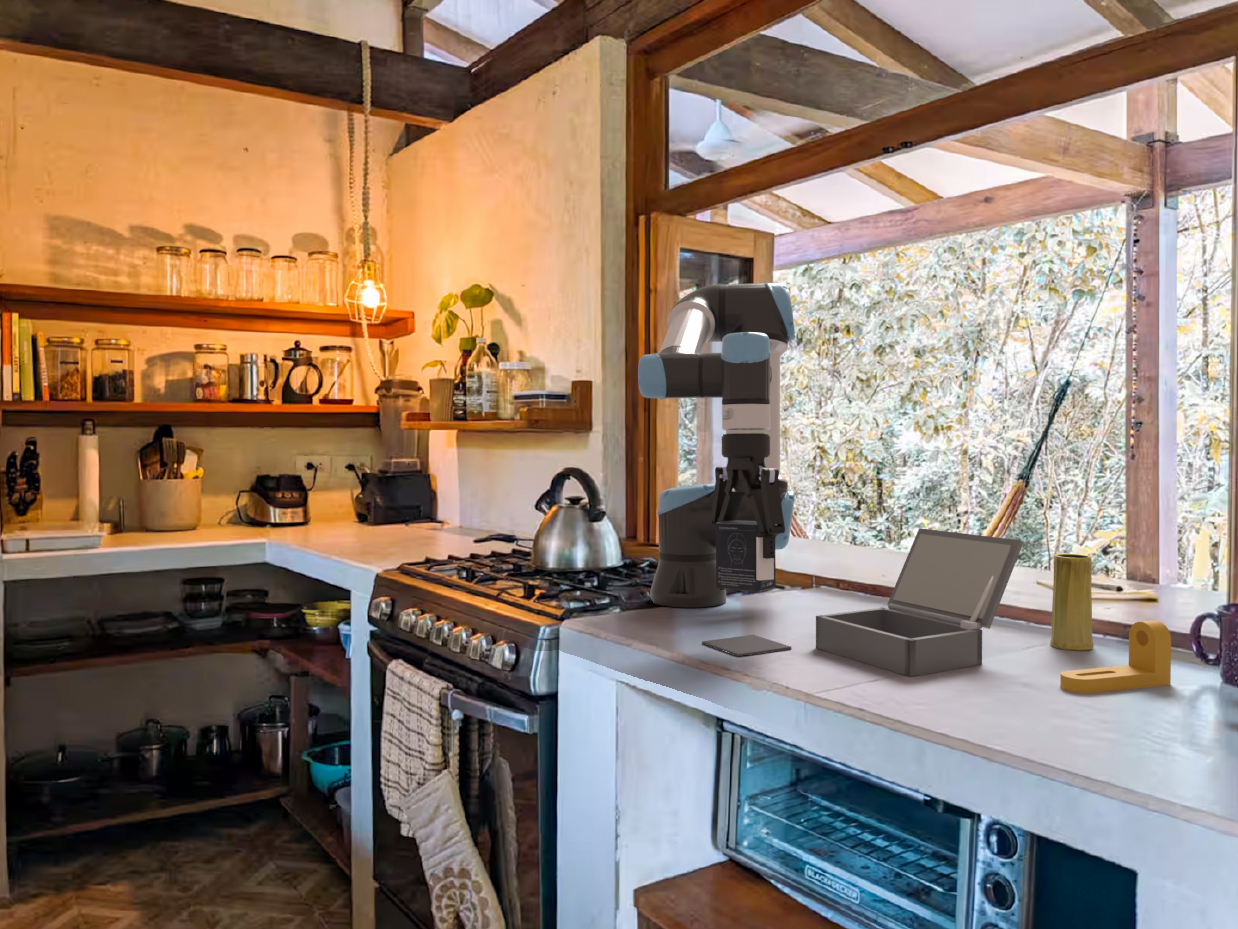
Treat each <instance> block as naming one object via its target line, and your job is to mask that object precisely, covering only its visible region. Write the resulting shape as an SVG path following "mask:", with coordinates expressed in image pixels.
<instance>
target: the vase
mask: <svg viewBox="0 0 1238 929" xmlns="http://www.w3.org/2000/svg"><path fill="white" fill-rule="evenodd" d="M1092 577H1093V576H1092V556H1091V555H1088V554H1082V553H1080V554H1079V553H1056V554H1054V556H1053V583H1052V584H1053V589H1052V604H1051V605H1052V606H1051V607H1052V609H1051V639H1050V643H1049V644H1050V646H1051V647H1053V648H1055V649H1059V650H1065V651H1073V652H1074V651H1075V652H1082V651H1083V652H1084V651H1085V652H1086V651H1092V650H1093V649H1094V642H1093V626H1092V625H1093V624H1092V623H1093V606H1092V602H1093V601H1092V600H1093V598H1092V579H1093V578H1092Z"/></svg>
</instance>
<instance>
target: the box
mask: <svg viewBox="0 0 1238 929" xmlns="http://www.w3.org/2000/svg"><path fill="white" fill-rule="evenodd" d="M766 528H767V527H766ZM758 533H759V529H758V526H757V523H756V521H743V520H729V521H721V522H716V588H721V589H726V590H734V591H735V590H737V591H748V592H758V593H762V592H766V591H770V590H773V589H775V588H776V582H777V581H776V580H777V579H776V570H777V569H776V567H777V565H776V556H775V557H774V579H771V580H756V537H757V536H756V535H757V534H758Z"/></svg>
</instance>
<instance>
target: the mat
mask: <svg viewBox="0 0 1238 929" xmlns="http://www.w3.org/2000/svg"><path fill="white" fill-rule="evenodd" d="M701 644H702V645H704V644H707V645H709V646H708V647H710V646H712V647H715V648H717V649H716V650H718V649H719V650H718V651H721V650H724V651H727V652H729V653H731V654H730V655H732V654H734V655H737V656H741V657H744V656H743V655H748V656H751V655H750V654H755V655H759V654H758V653H762V654H765V653H764V652H769V653H773V652H772V651H776V652H780V651H779V650H783V651H790V650H792V646H790V645H786V644H783V643H781V642H778V641H774V640H771V639H768V638H765V637H762V636H759V635H756V634H749V635H741V636H733V637H725V638H718V639H710V640H702V641H701ZM707 645H706V646H707ZM712 647H711V648H712ZM715 648H714V649H715ZM729 653H728V654H729ZM734 655H733V656H734ZM737 656H736V657H737Z"/></svg>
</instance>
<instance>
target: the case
mask: <svg viewBox="0 0 1238 929" xmlns="http://www.w3.org/2000/svg"><path fill="white" fill-rule="evenodd" d="M914 537H915V538H914V540H913V542H912V545H911V546H910V549H909V551H908V553H907V556H906V558H905V561H904V563H903V566H902V568H901V571H900V573H899V576H898V578H897V581H896V582H895V586H894V588H893V590H892V592H891V595H890V597H889V599H888V602H887V606H888V608H887V607H878V608H868V609H862V610H854V611H853V610H852V611H847V612H838V613H829V614H823V615H815V648H816V649H819V650H823V651H826V652H828V653H832V654H835V655H838V656H841V657H844V658H848V659H852V660H854V661H858V662H861V663H864V662H865V663H864V664H868V665H871V666H875V667H876V668H877V667H878V668H881V669H883V670H887V669H888V670H887V671H890V670H891V671H890V672H893V673H898V674H900V675H903V676H906V675H908V676H907V677H910V676H912V677H916V676H915V675H918V676H923V675H928V674H934V673H940V672H945V671H951V670H957V669H964V668H969V667H976V666H981V665H983V630H982V628H985V629H991V627H992V624H993V621H994V620H995V617H996V614H997V611H998V609H999V606H1000V605H1001V604H1000V603H1001V601H1002V599H1003V595H1004V594H1005V591H1006V589H1007V586H1008V583H1009V580H1010V578H1011V576H1012V573H1013V570H1014V567H1015V565H1016V564H1017V561H1018V558H1019V555H1020V553H1021V550H1022V548H1023V545H1024V541H1022V540H1020V539H1014V538H1013V539H1012V538H1004V537H996V536H988V535H987V536H986V535H979V534H970V533H962V532H953V531H946V530H936V529H928V528H920V527H919V528H918V531H917V532H916V535H915V536H914Z"/></svg>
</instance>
